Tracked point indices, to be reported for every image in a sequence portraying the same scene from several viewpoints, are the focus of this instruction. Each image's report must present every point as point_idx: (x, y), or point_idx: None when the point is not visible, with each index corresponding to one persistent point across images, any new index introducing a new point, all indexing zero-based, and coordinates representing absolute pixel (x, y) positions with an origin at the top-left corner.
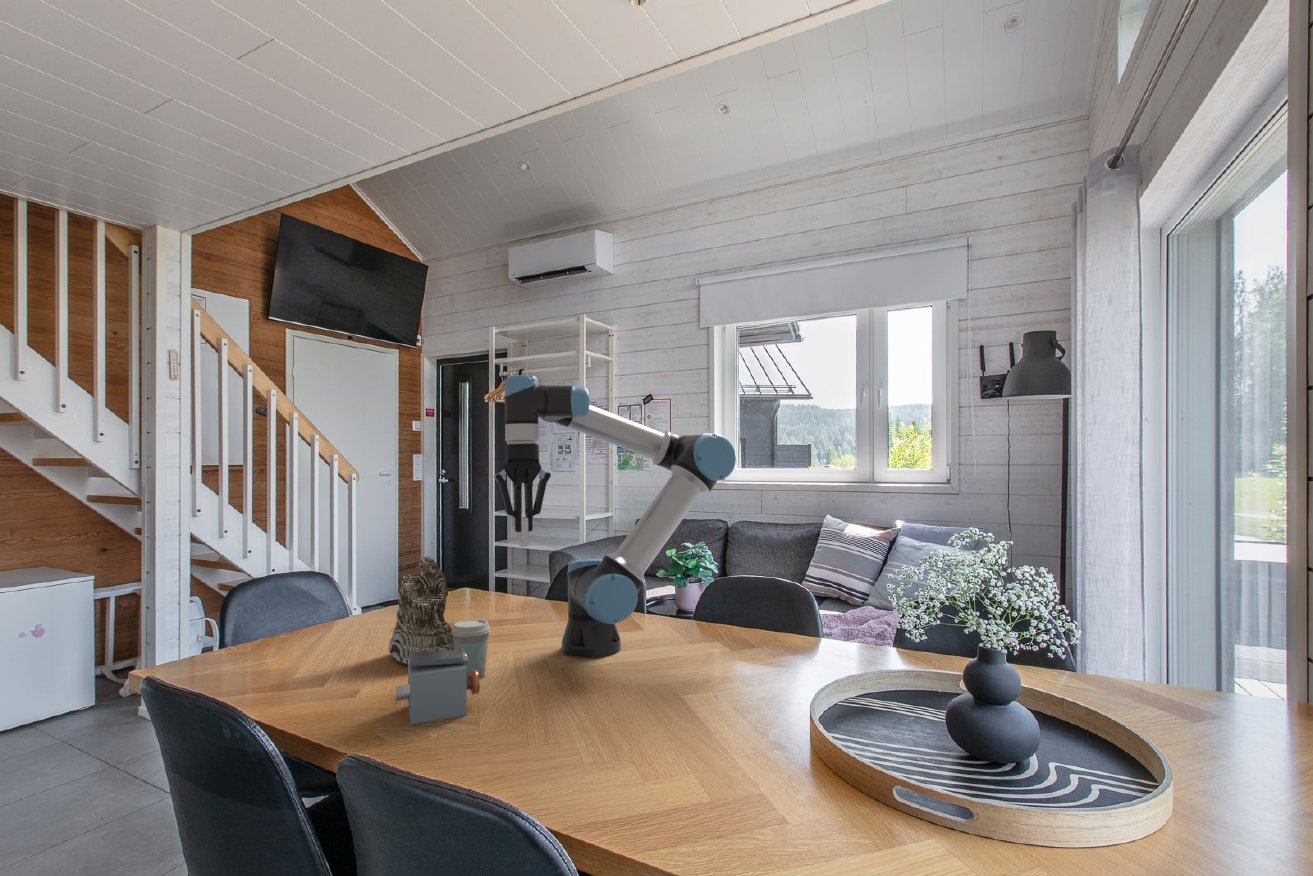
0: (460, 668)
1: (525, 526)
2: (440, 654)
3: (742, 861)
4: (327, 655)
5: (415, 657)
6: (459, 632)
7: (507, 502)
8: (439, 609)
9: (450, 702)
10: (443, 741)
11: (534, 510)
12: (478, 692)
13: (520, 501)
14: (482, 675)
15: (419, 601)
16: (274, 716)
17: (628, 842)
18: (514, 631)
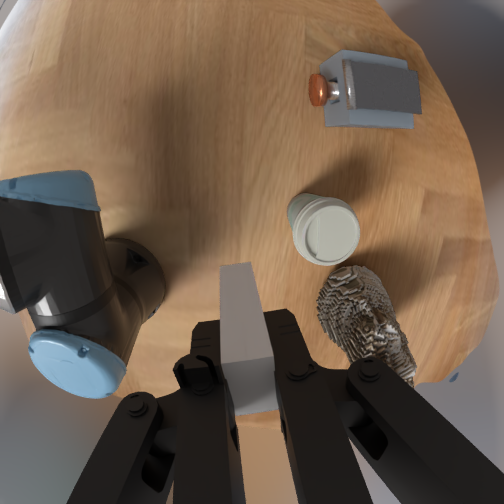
0: (350, 51)
1: (238, 322)
2: (383, 88)
3: None
4: (423, 336)
5: (413, 85)
6: (350, 208)
7: (434, 430)
8: (368, 322)
9: None
10: (341, 15)
11: (165, 425)
12: (309, 81)
13: (310, 479)
14: (291, 200)
15: (396, 337)
16: (472, 167)
17: None
18: None
